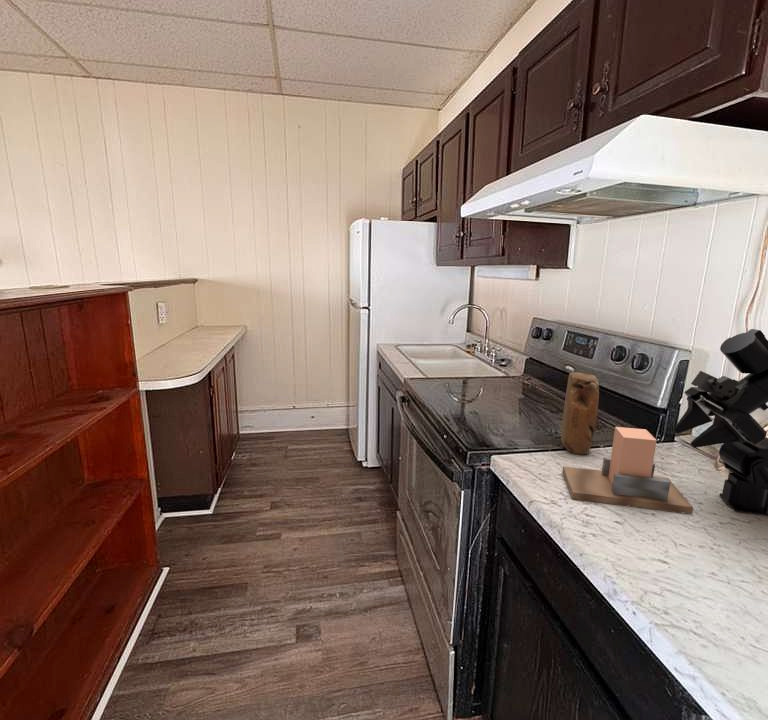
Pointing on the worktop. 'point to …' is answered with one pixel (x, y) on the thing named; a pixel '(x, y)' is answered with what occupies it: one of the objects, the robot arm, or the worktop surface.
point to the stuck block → (632, 452)
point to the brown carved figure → (580, 412)
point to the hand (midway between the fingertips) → (682, 438)
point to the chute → (625, 489)
